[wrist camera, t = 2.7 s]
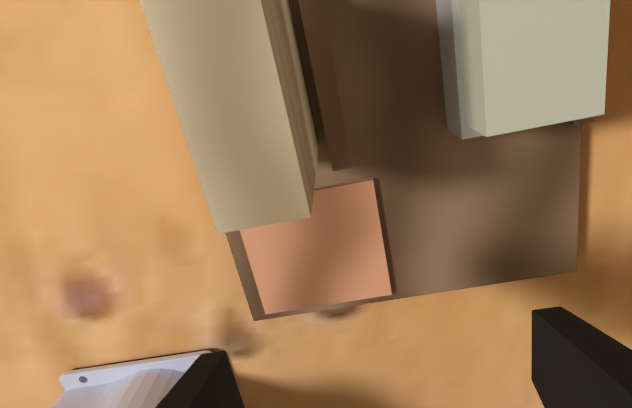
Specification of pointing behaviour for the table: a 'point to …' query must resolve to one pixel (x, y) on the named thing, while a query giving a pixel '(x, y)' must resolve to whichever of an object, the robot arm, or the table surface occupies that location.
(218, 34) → the tan wooden block
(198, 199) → the table surface
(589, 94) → the offcut upper
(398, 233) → the walnut rack
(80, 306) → the table surface
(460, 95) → the offcut lower
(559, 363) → the robot arm
